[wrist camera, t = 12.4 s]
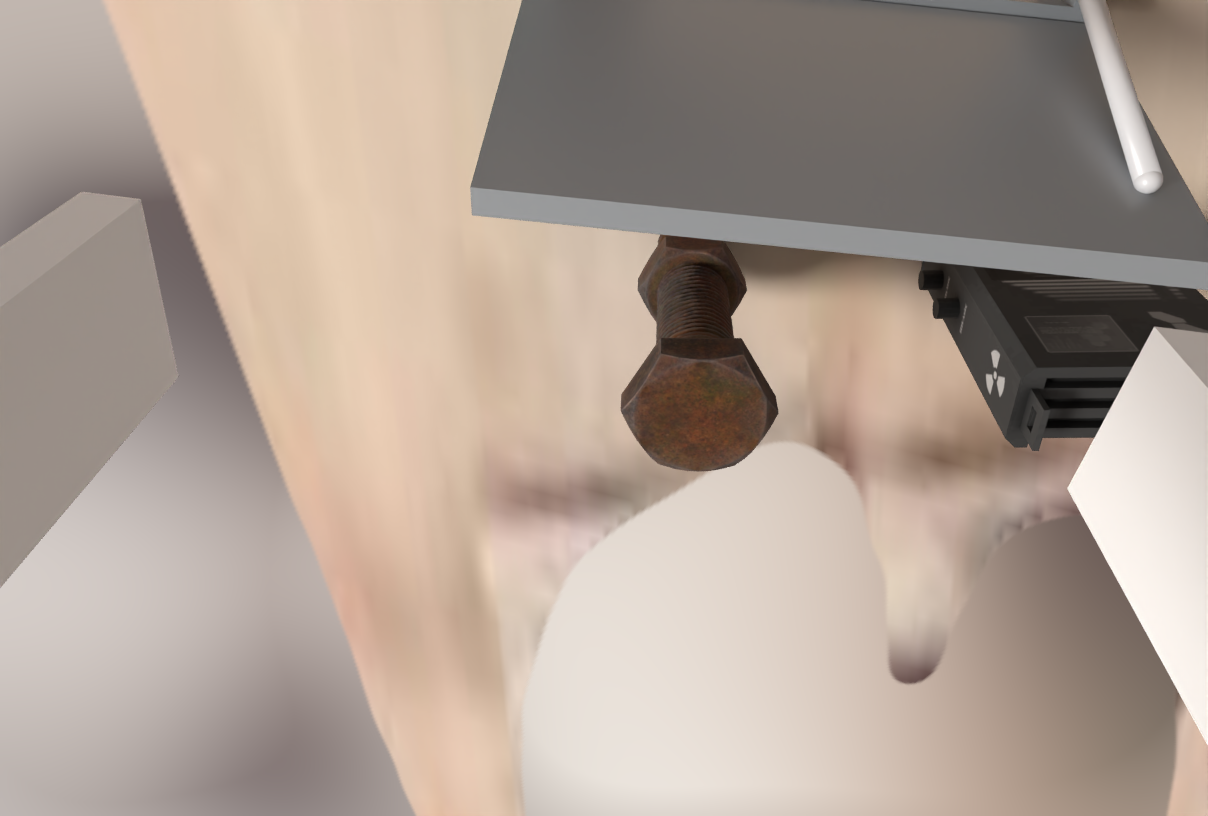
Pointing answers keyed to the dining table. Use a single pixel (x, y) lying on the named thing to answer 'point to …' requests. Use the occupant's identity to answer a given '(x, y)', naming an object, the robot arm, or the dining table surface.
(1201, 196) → the dining table surface
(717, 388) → the bolt
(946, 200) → the case
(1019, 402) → the geiger counter
